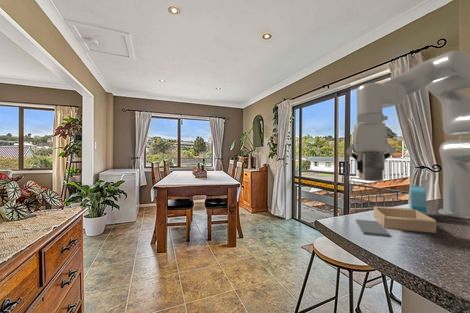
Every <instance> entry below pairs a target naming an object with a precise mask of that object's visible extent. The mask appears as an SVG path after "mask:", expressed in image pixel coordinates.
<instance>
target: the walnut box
mask: <svg viewBox="0 0 470 313" xmlns="http://www.w3.org/2000/svg"><path fill="white" fill-rule="evenodd" d="M383 154H384V152H383V153H362V158H361V160H362V162H363V172H362V173H360V172H359V171H358V178H359V179H362V180H363V181H370V182H371V181H373V182H375V181H377V182H379V181H381V182H383V180H384V176H383V175H384V170H383Z"/></svg>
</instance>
